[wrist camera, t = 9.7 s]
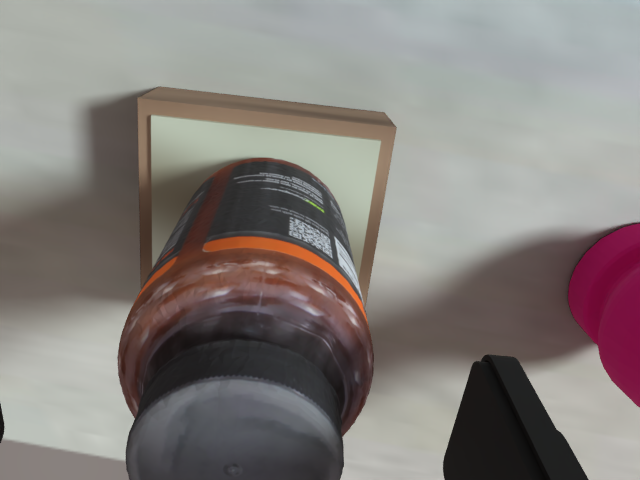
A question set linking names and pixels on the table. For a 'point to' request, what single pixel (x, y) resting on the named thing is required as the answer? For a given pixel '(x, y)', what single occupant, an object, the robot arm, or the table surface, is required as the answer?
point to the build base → (259, 142)
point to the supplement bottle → (248, 335)
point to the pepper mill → (612, 304)
